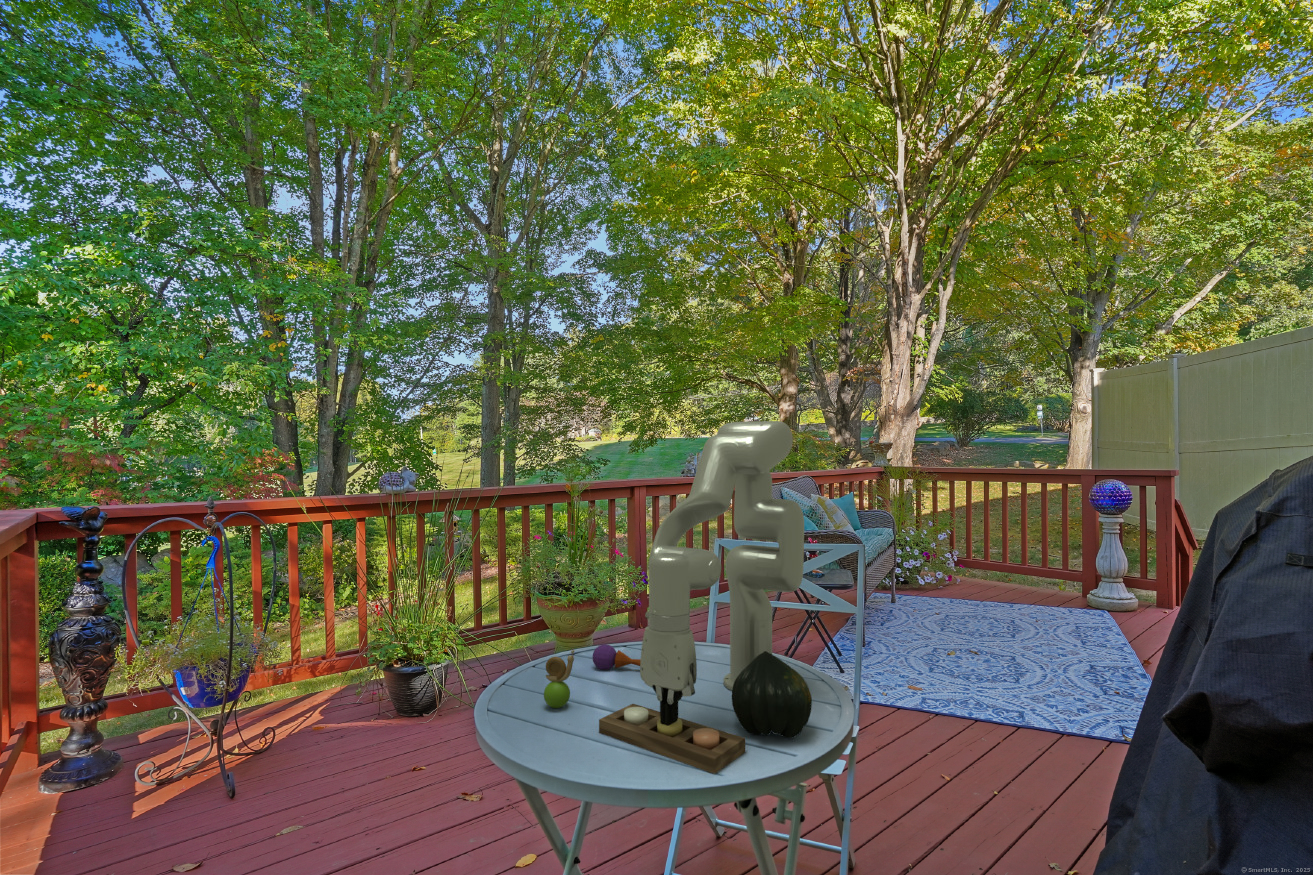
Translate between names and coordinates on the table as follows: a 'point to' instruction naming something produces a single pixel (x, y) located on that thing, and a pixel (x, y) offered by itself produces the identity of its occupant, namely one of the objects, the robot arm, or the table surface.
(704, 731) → the terracotta button
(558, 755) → the table surface
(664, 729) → the mustard button
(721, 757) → the button panel
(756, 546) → the robot arm
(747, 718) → the squash
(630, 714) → the cream button
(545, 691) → the snail figurine
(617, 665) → the purple and brown maraca
